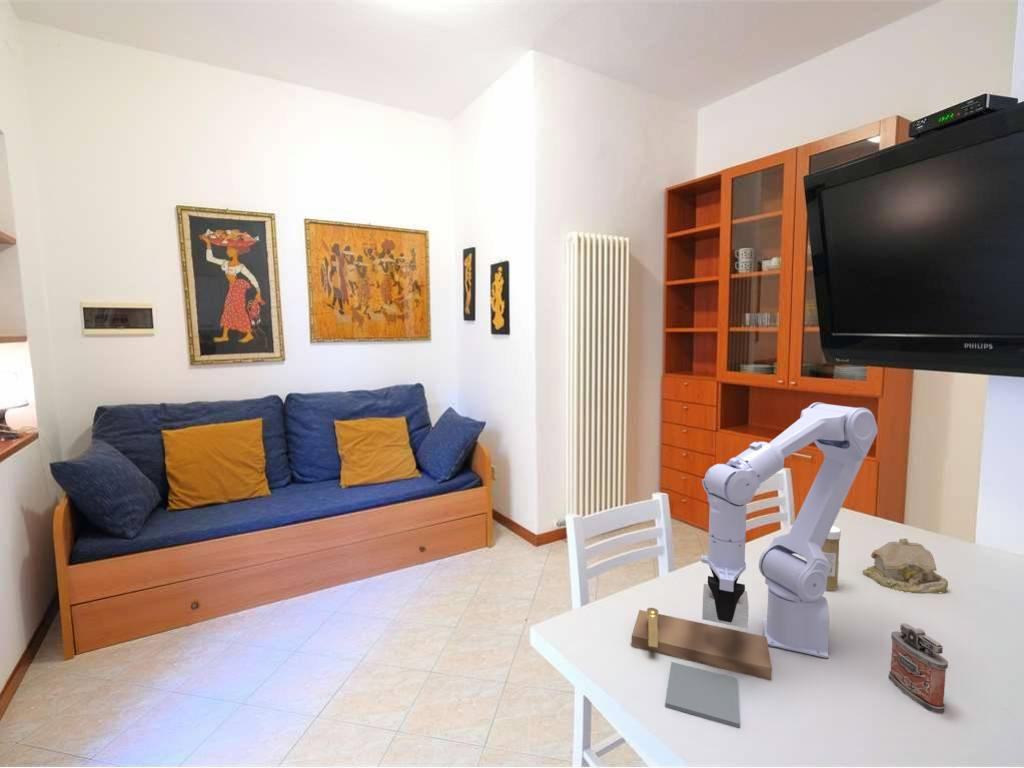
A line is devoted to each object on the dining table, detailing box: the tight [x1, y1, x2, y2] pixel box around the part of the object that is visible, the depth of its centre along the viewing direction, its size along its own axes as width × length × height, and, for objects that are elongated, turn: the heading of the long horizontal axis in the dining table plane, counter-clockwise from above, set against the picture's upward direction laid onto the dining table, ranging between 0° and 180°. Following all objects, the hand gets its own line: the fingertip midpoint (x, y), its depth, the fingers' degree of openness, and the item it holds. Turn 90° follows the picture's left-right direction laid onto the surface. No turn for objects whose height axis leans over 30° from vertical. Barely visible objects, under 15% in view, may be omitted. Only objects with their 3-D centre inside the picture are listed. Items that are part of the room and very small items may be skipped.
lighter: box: [888, 622, 949, 714], centre depth 72 cm, size 8×3×10 cm, turn 5°
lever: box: [646, 607, 659, 647], centre depth 85 cm, size 8×2×3 cm, turn 165°
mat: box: [664, 661, 741, 729], centre depth 73 cm, size 10×10×1 cm
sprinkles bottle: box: [822, 525, 841, 592], centre depth 105 cm, size 5×5×14 cm
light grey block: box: [701, 583, 750, 629], centre depth 82 cm, size 7×5×4 cm
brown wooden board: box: [631, 609, 773, 681], centre depth 84 cm, size 22×9×2 cm, turn 66°
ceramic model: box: [862, 538, 949, 594], centre depth 107 cm, size 14×11×10 cm
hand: (724, 611), depth 82 cm, fingers closed on light grey block, 5 cm apart
